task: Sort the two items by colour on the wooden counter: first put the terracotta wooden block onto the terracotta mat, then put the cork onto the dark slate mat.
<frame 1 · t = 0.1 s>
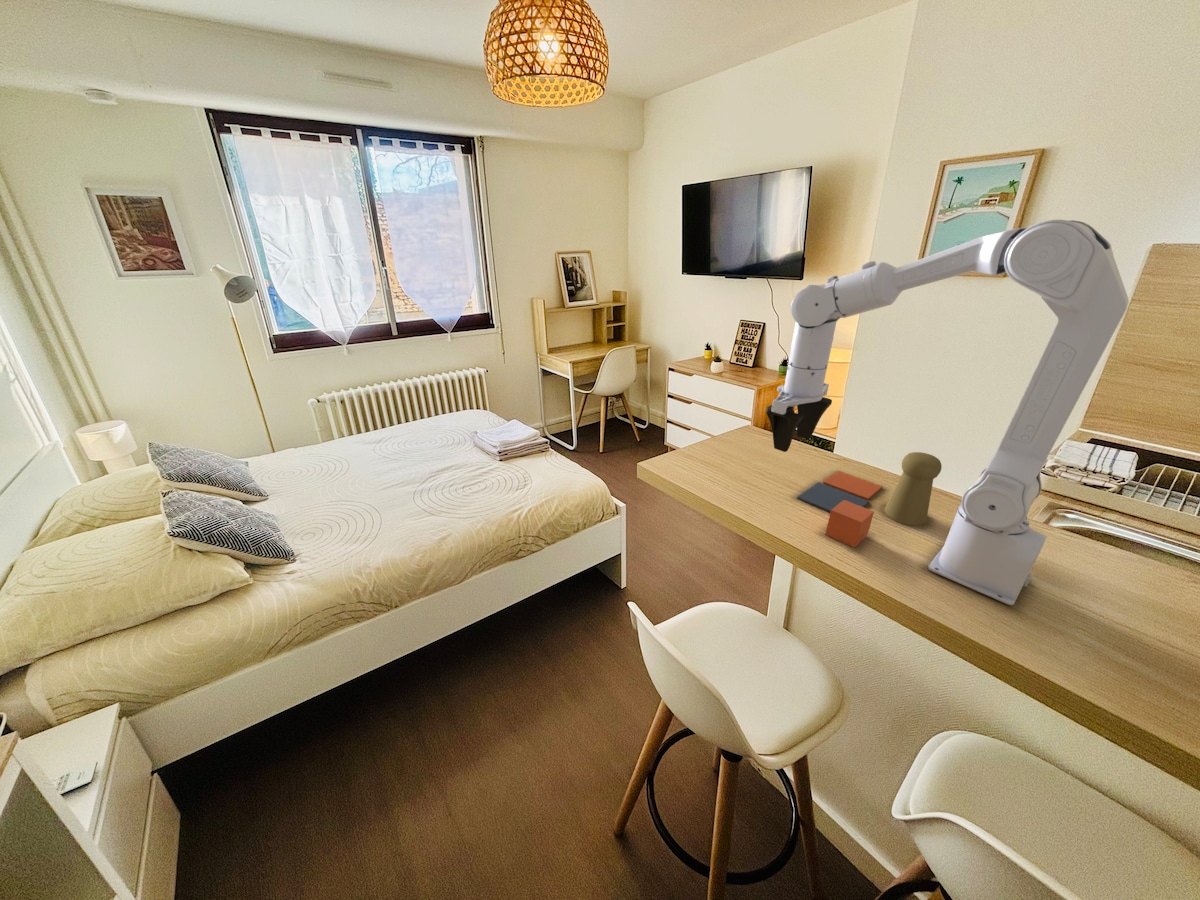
hand: (792, 443, 79), 10 cm above the table, tool pointing down, fingers open, 7 cm apart
slate mat: (832, 500, 82), on the table
terracotta mat: (852, 485, 86), on the table
terracotta block: (845, 535, 72), on the table
cork: (904, 516, 77), on the table
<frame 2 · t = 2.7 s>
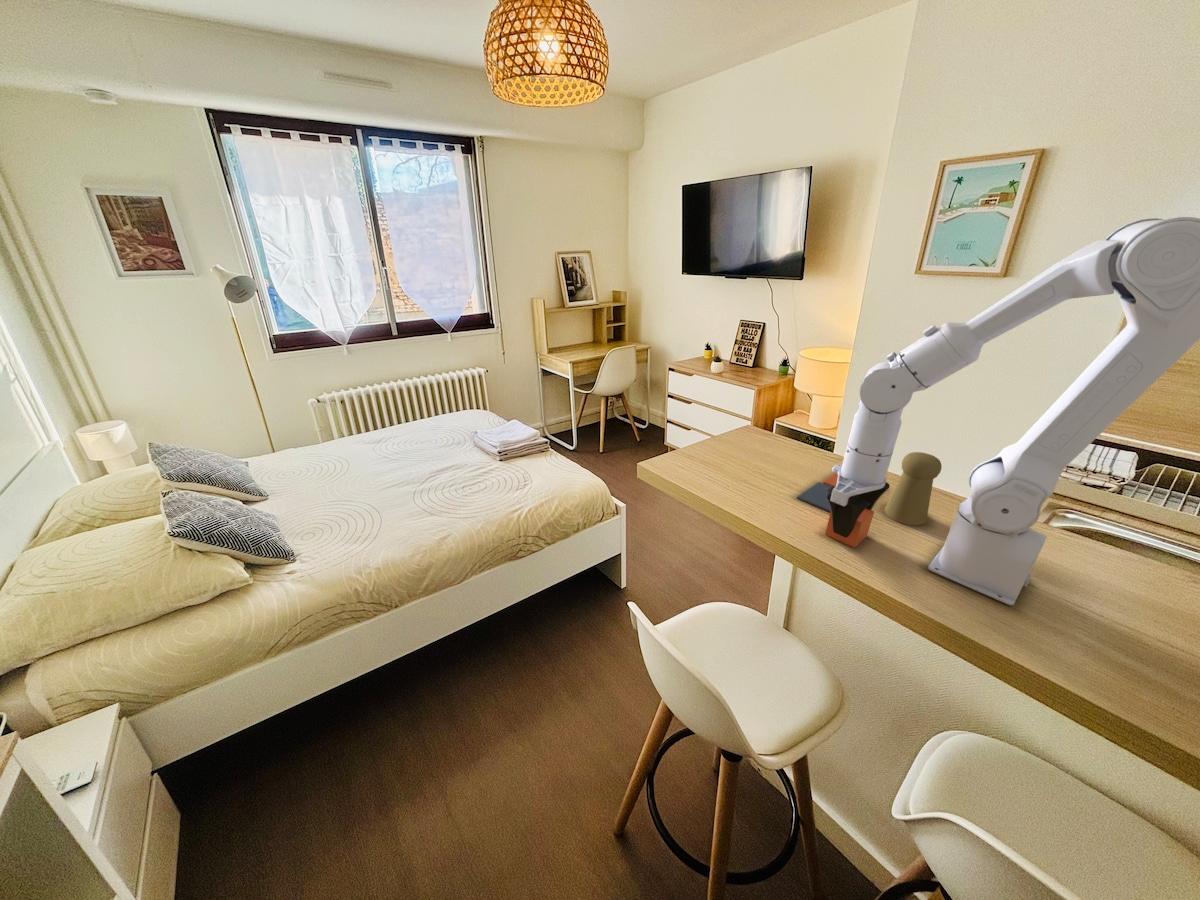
hand: (848, 527, 72), 1 cm above the table, tool pointing down, fingers closed on terracotta block, 4 cm apart
terracotta block: (845, 535, 72), on the table, touching gripper
everything else where it was.
when the fingers open (2 cm above the table, at t = 7.2 s): terracotta block stays where it is, resting on terracotta mat.
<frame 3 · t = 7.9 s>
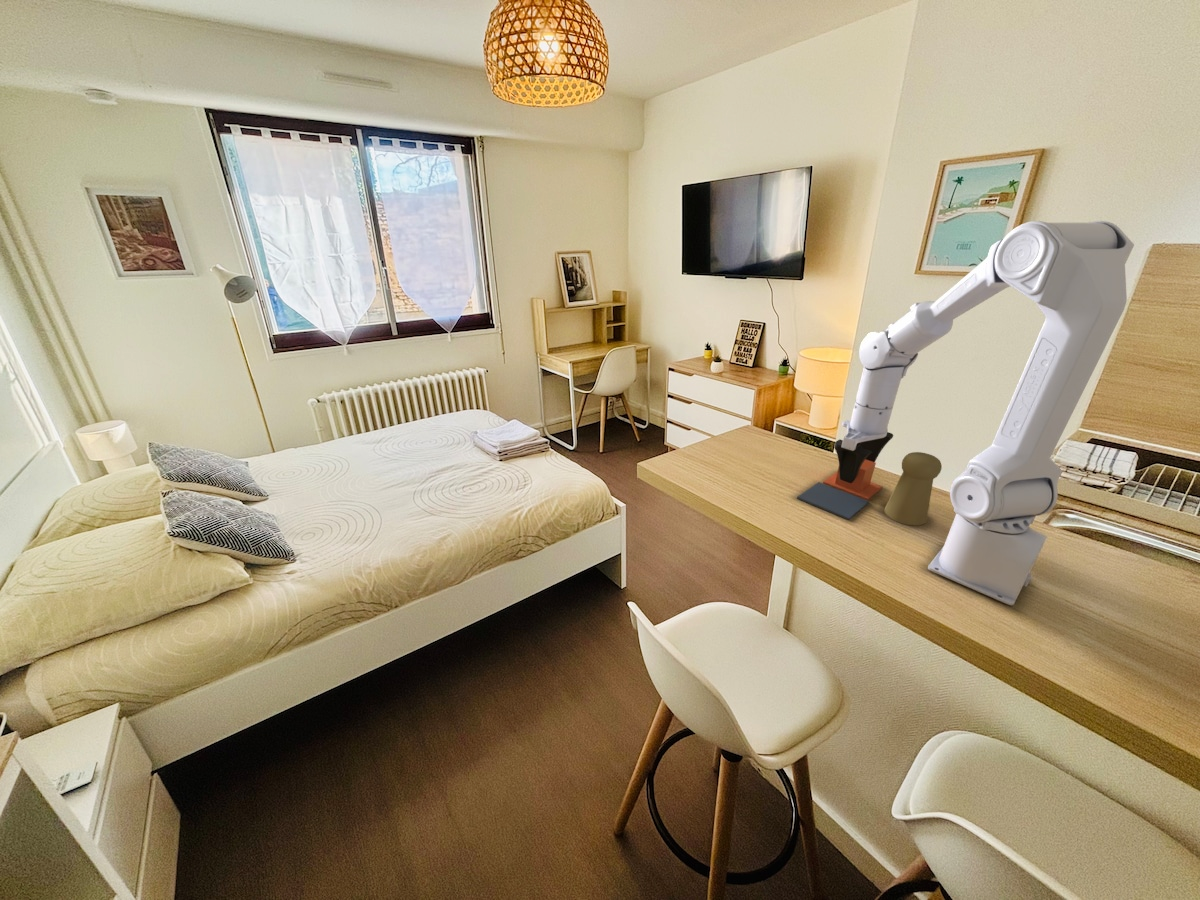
hand: (855, 474, 85), 2 cm above the table, tool pointing down, fingers open, 7 cm apart
terracotta block: (852, 483, 86), resting on terracotta mat
everything else where it was.
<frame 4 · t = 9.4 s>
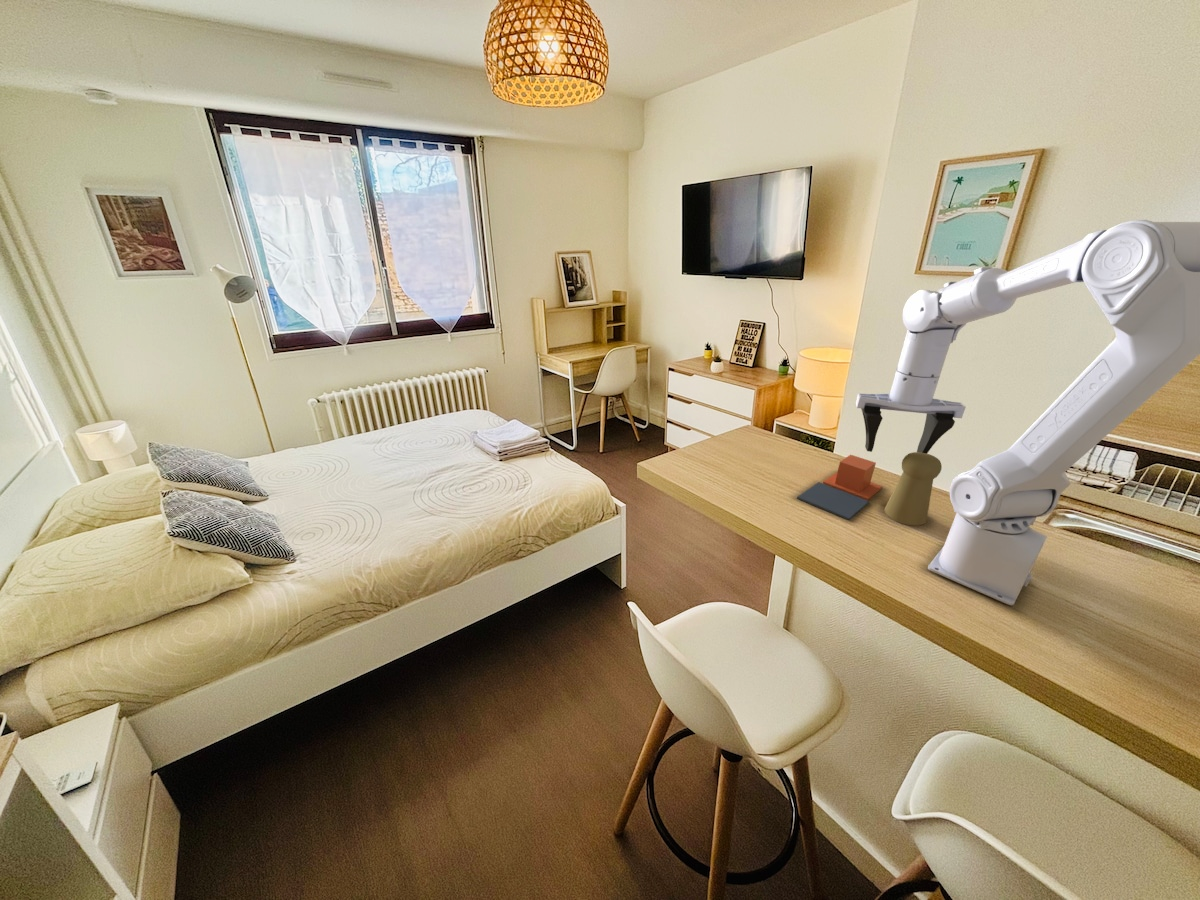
hand: (894, 452, 77), 9 cm above the table, tool pointing down, fingers open, 7 cm apart
cork: (904, 516, 77), on the table, touching gripper
everything else where it was.
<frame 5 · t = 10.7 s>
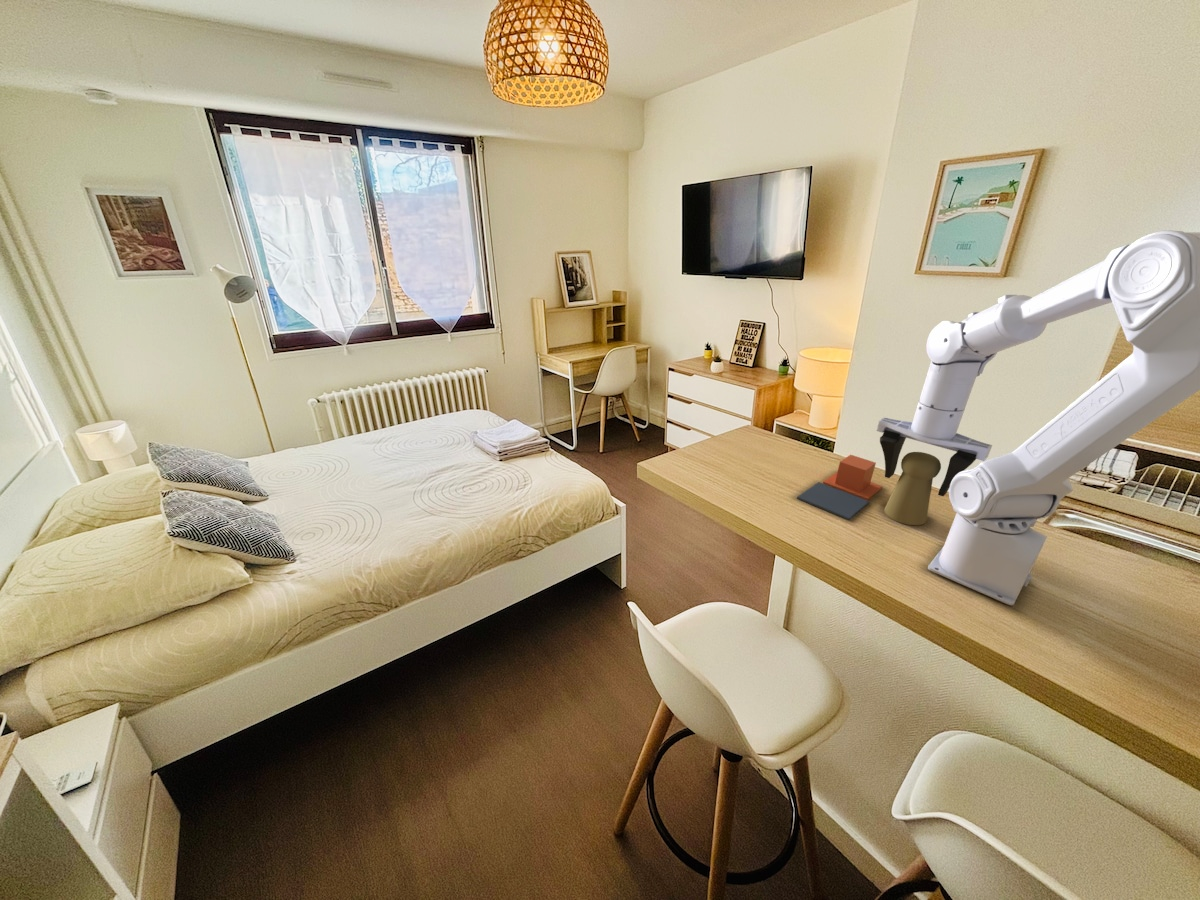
hand: (914, 484, 75), 6 cm above the table, tool pointing down, fingers open, 7 cm apart
cork: (904, 516, 77), on the table
everything else where it was.
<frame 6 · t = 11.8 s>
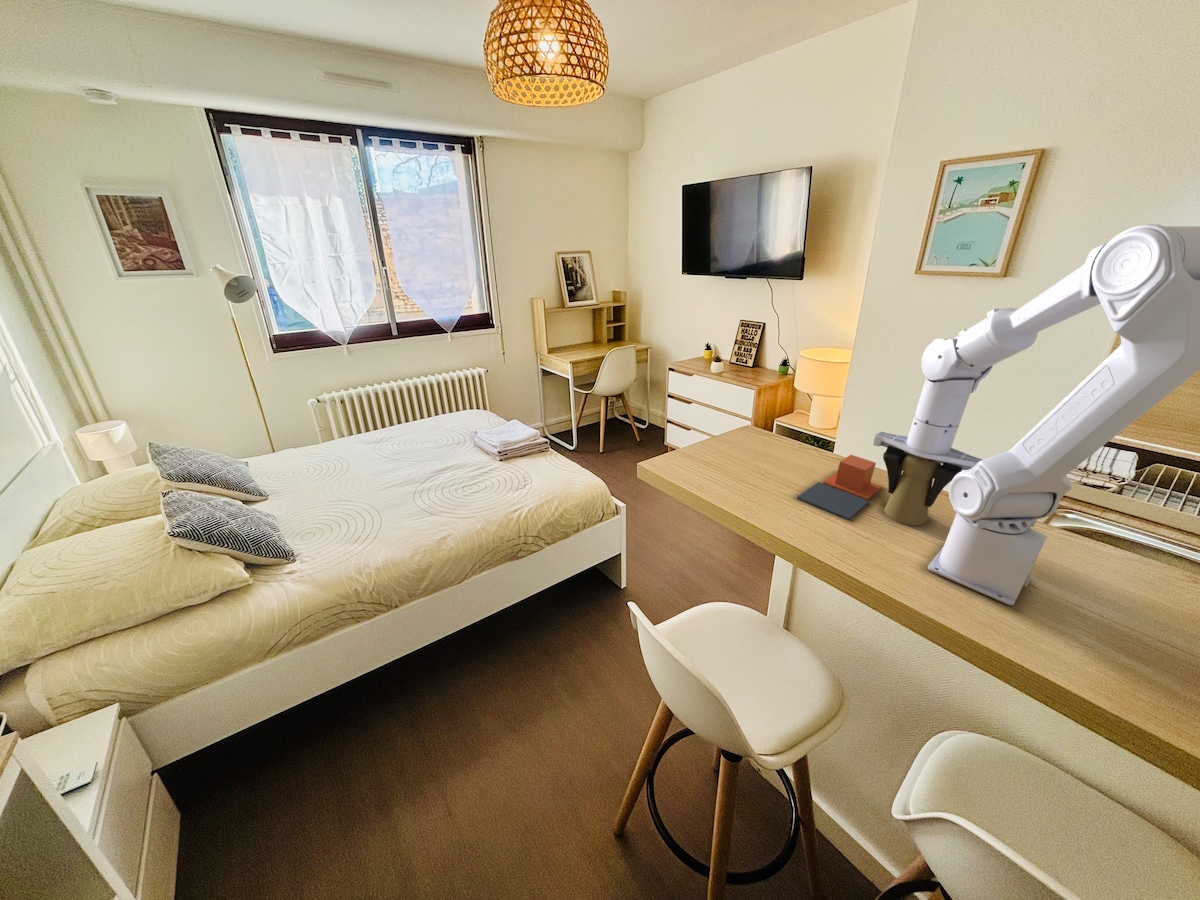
hand: (910, 497, 76), 3 cm above the table, tool pointing down, fingers closed on cork, 5 cm apart
cork: (904, 516, 77), on the table, touching gripper
everything else where it was.
when the fingers open (4 cm above the table, at t = 15.8 s): cork stays where it is, resting on slate mat.
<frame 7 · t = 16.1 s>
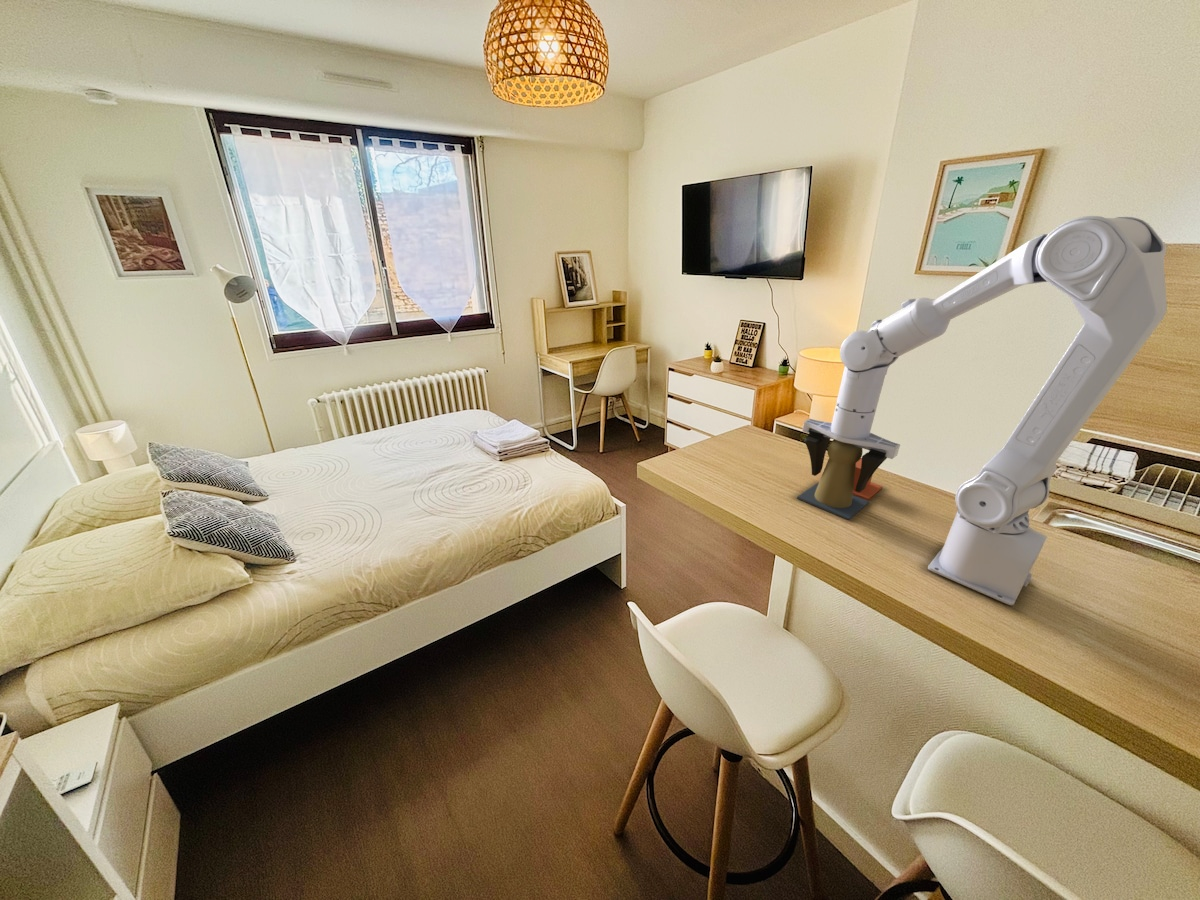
hand: (837, 481, 80), 4 cm above the table, tool pointing down, fingers open, 7 cm apart
cork: (832, 499, 81), resting on slate mat
everything else where it was.
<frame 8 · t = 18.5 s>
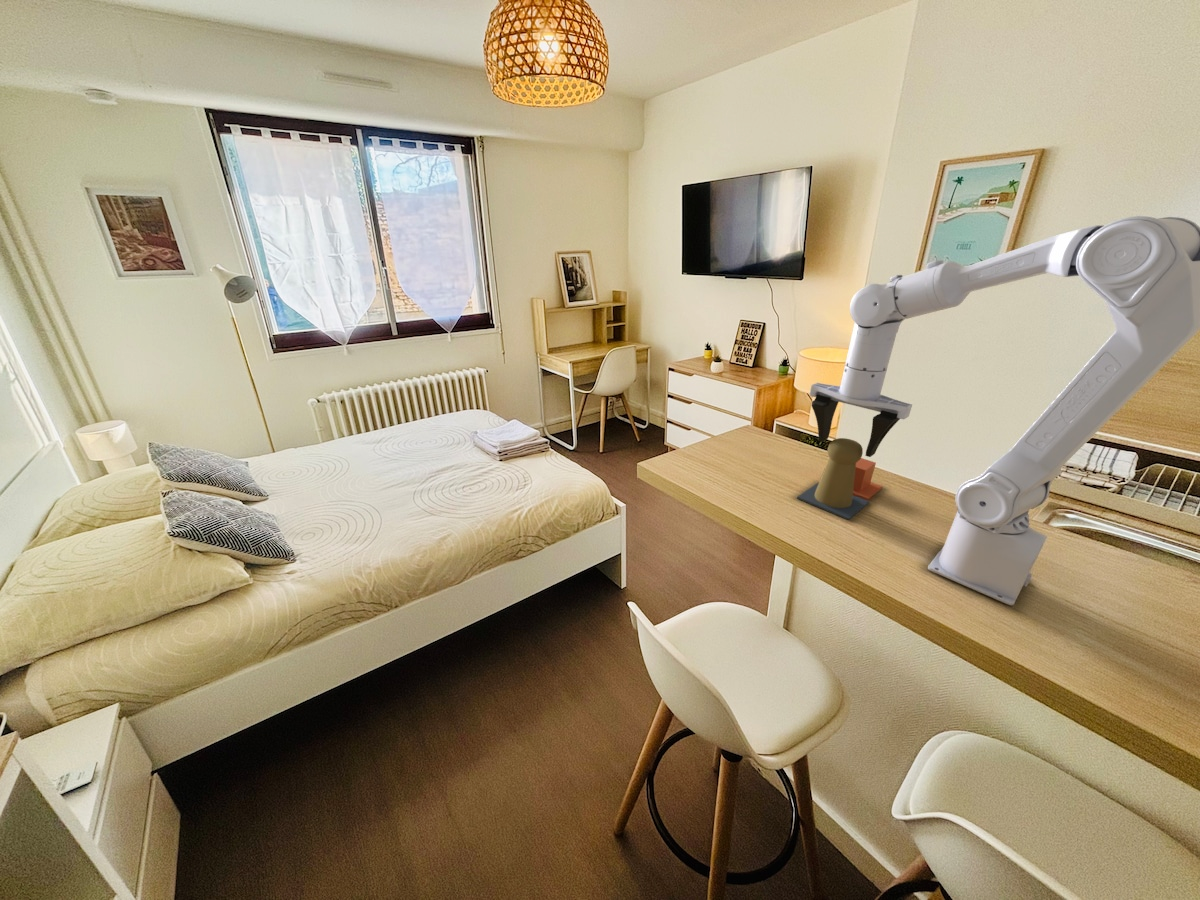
hand: (845, 447, 77), 10 cm above the table, tool pointing down, fingers open, 7 cm apart
nothing on the table moved.
at the end: terracotta block inside the target area (0.1 cm from its centre), resting on terracotta mat; cork inside the target area (0.1 cm from its centre), resting on slate mat; cork tilted 0° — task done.
